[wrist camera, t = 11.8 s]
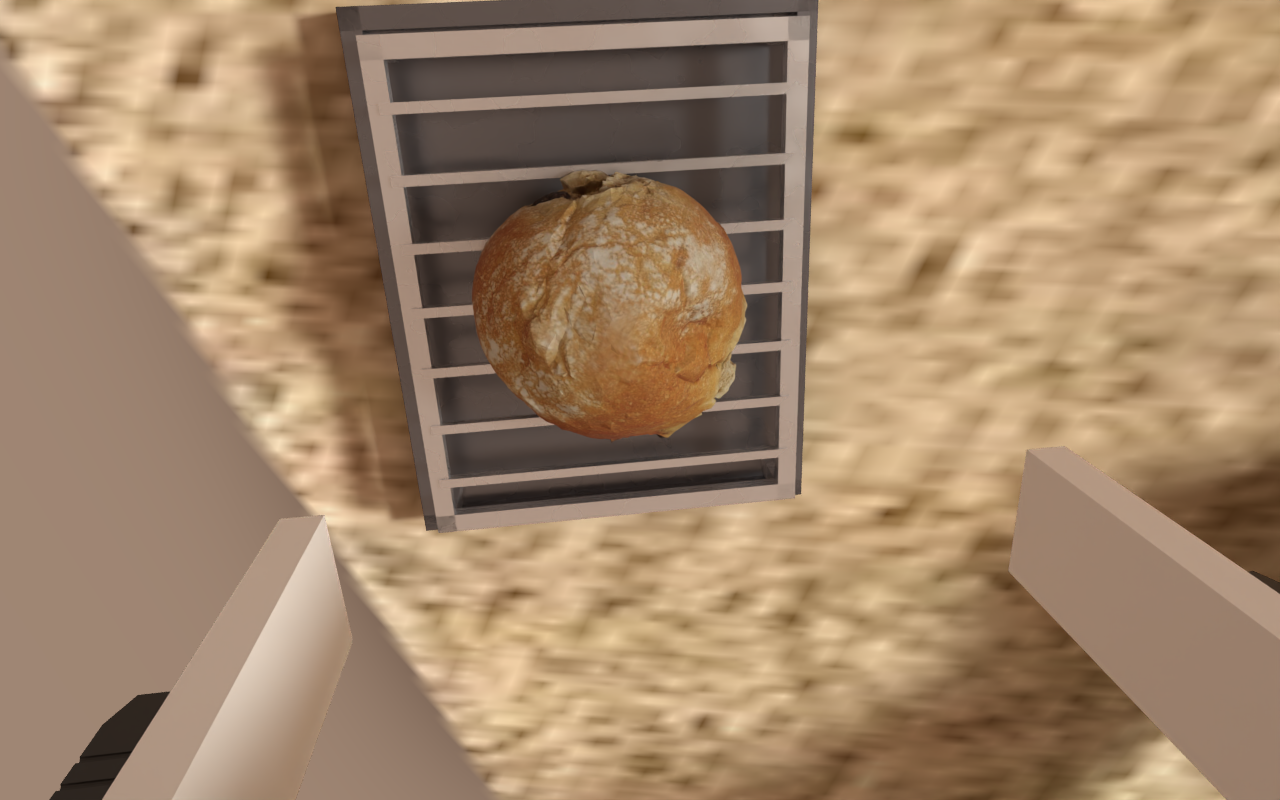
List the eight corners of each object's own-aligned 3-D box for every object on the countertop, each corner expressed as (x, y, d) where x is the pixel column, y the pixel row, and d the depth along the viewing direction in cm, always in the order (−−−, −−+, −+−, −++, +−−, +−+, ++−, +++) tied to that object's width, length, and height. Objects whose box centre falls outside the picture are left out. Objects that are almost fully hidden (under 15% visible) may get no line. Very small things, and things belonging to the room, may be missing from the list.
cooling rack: (805, -8, 31) (839, -21, 28) (791, 479, 39) (816, 518, 36) (346, 11, 30) (318, 0, 26) (431, 513, 38) (419, 557, 34)
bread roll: (672, 156, 33) (657, 75, 25) (791, 371, 32) (814, 359, 24) (470, 272, 33) (393, 230, 26) (582, 483, 33) (538, 507, 25)
